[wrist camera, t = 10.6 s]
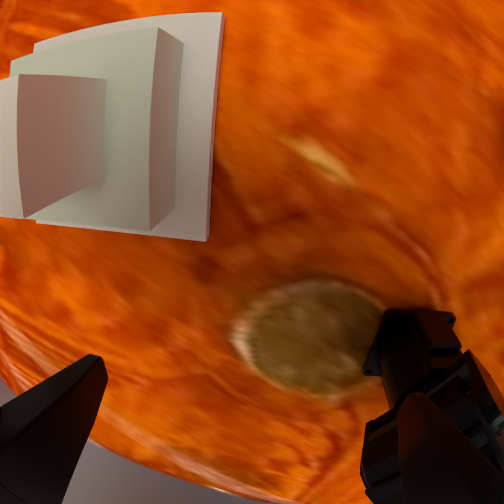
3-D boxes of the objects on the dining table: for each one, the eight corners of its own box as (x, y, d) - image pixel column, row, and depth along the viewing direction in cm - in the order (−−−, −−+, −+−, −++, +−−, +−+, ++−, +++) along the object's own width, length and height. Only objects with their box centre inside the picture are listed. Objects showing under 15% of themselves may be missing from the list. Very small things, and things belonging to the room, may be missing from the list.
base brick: (174, 207, 19) (149, 231, 15) (50, 199, 19) (15, 217, 15) (184, 43, 14) (158, 26, 11) (50, 63, 15) (11, 60, 11)
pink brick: (104, 178, 14) (23, 219, 9) (36, 177, 14) (-42, 212, 9) (106, 79, 12) (19, 74, 7) (35, 91, 12) (-49, 100, 7)
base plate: (209, 235, 20) (205, 241, 19) (43, 218, 21) (36, 223, 20) (225, 17, 14) (222, 12, 13) (42, 44, 15) (34, 43, 14)
